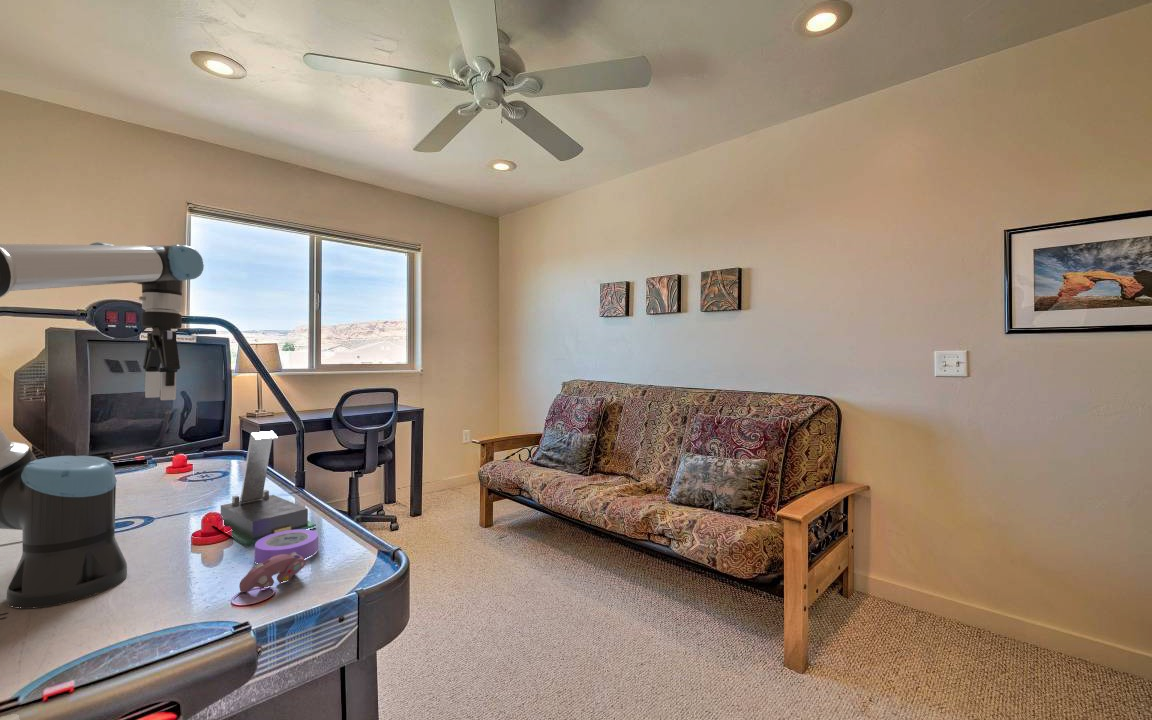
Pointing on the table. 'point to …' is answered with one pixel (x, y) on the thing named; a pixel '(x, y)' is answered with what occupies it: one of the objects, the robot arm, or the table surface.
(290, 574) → the video game controller
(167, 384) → the robot arm
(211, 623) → the table surface
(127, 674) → the table surface
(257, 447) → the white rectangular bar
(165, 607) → the table surface
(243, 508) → the grey box device
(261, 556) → the masking tape
